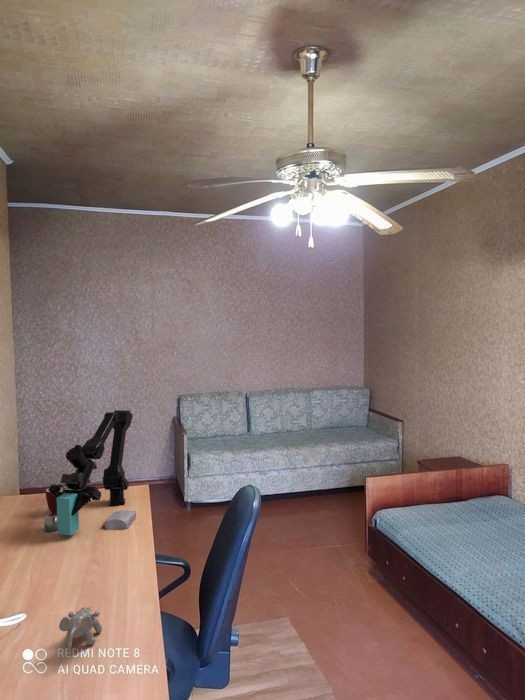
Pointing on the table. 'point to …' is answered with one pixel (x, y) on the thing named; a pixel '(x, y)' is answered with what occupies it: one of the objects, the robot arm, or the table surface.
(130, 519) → the stone block
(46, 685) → the table surface
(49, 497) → the mug
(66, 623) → the elephant statuette
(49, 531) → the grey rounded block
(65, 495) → the teal block
